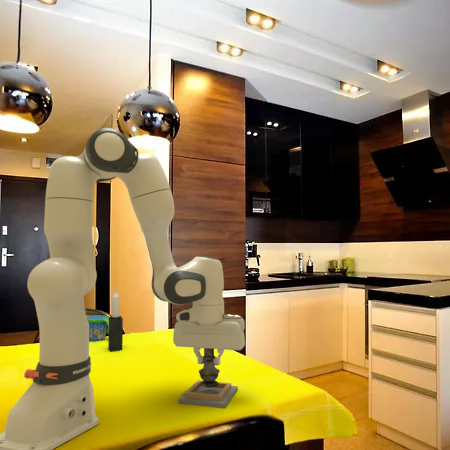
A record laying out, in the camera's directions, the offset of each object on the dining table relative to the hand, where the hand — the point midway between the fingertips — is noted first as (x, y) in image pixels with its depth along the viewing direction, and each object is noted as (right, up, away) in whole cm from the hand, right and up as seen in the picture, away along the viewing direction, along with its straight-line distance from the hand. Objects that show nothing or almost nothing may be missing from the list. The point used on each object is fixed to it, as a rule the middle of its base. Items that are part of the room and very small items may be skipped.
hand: (208, 364), depth 104 cm
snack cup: (-55, -14, +67) cm, 88 cm away
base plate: (0, -9, -1) cm, 9 cm away
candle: (-41, -13, +49) cm, 65 cm away
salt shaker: (0, -6, 0) cm, 6 cm away
